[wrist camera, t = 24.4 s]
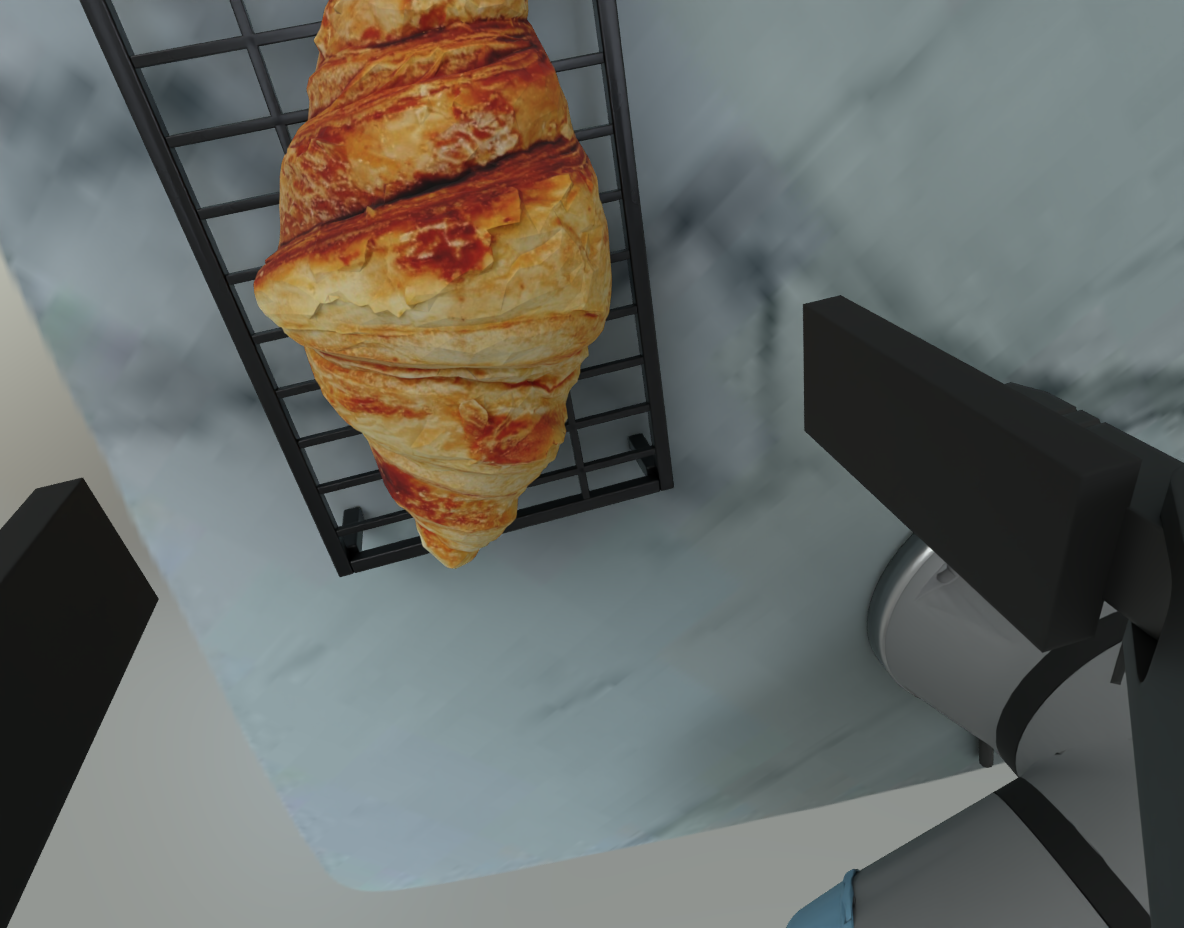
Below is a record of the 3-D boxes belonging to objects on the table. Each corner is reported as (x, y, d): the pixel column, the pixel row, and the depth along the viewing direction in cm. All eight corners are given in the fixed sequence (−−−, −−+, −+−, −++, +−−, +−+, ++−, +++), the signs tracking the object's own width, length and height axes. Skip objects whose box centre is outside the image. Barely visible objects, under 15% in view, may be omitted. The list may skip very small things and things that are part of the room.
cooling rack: (650, 448, 33) (674, 488, 30) (345, 528, 32) (339, 578, 29) (565, -175, 22) (591, -210, 19) (78, -99, 20) (22, -124, 17)
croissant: (517, 483, 32) (642, 573, 27) (292, 571, 26) (398, 707, 21) (509, -122, 21) (715, -159, 16) (127, -197, 16) (262, -291, 11)
